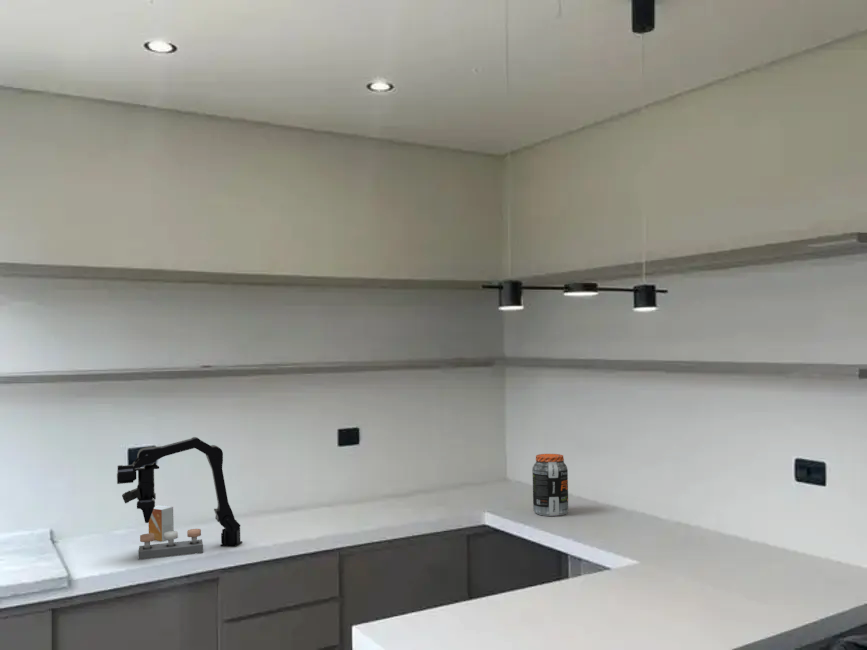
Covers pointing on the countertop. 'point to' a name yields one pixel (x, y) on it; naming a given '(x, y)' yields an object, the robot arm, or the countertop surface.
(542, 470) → the supplement tub
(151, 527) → the small box
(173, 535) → the knob middle
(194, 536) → the knob
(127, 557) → the countertop surface
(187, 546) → the knob strip
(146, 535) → the knob
